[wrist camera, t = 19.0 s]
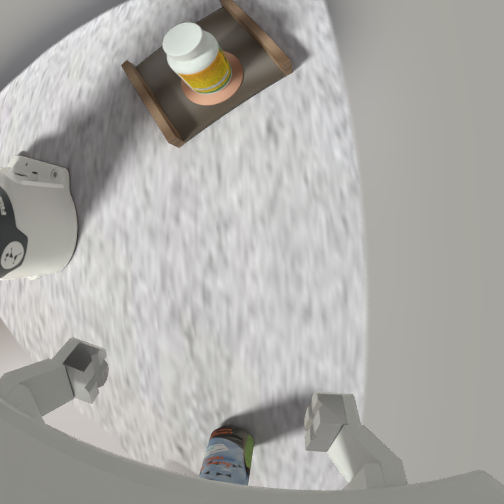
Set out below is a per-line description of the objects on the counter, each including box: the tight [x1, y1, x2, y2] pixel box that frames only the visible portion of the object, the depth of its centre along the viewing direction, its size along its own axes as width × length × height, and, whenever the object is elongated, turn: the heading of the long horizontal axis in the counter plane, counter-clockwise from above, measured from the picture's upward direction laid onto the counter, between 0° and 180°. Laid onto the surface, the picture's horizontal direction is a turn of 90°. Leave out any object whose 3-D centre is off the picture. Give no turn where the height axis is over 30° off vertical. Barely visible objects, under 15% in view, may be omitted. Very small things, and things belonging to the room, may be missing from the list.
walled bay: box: [121, 0, 292, 148], centre depth 31 cm, size 14×16×3 cm
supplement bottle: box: [162, 22, 232, 95], centre depth 27 cm, size 5×5×10 cm
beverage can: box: [199, 427, 254, 486], centre depth 32 cm, size 6×7×12 cm
